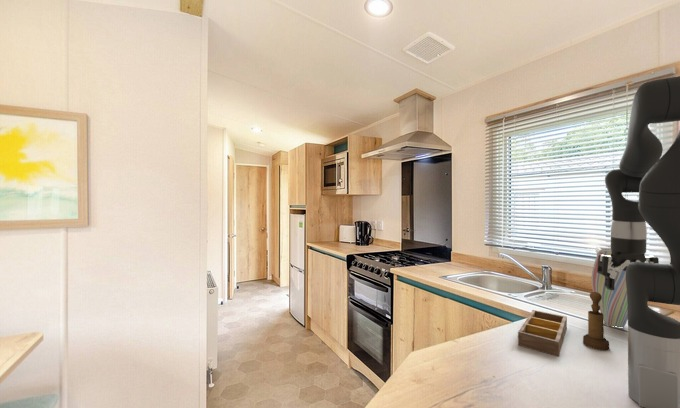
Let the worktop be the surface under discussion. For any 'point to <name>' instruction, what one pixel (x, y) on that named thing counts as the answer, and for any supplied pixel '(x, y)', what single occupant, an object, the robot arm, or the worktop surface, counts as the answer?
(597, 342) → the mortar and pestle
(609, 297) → the vase
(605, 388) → the worktop surface
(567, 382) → the worktop surface
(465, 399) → the worktop surface
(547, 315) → the rack
